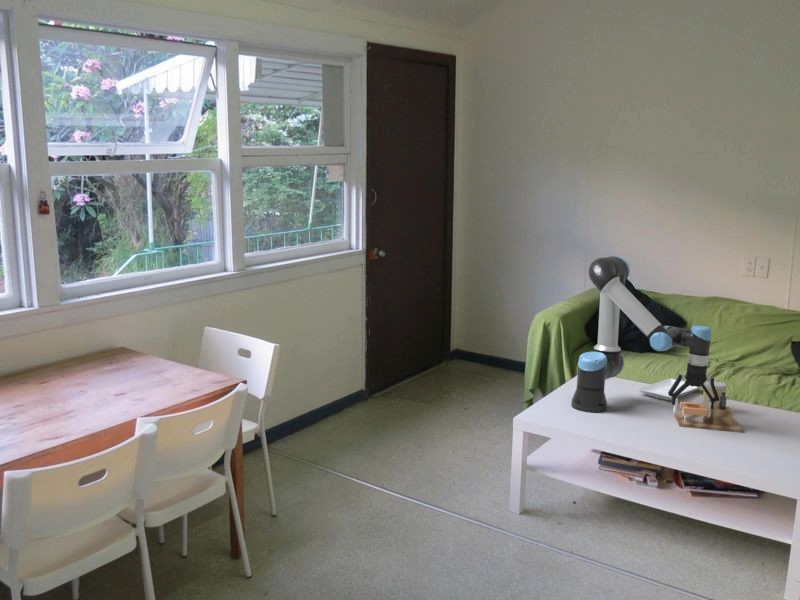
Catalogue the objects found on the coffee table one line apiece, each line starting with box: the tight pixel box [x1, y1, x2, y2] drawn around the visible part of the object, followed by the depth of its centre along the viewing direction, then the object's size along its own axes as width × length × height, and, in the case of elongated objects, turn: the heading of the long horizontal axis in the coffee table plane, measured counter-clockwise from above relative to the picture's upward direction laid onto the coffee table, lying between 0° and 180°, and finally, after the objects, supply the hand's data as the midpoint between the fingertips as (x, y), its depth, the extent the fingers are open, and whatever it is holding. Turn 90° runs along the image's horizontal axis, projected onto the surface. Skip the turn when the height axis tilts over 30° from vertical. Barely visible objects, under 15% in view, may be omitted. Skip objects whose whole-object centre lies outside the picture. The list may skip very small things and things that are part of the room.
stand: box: [673, 395, 744, 433], centre depth 300 cm, size 24×14×12 cm, turn 78°
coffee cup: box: [702, 380, 727, 413], centre depth 319 cm, size 9×9×12 cm
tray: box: [638, 378, 702, 401], centre depth 343 cm, size 17×32×4 cm, turn 133°
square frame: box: [679, 401, 707, 416], centre depth 301 cm, size 9×9×2 cm
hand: (691, 414), depth 302 cm, fingers open, 12 cm apart
